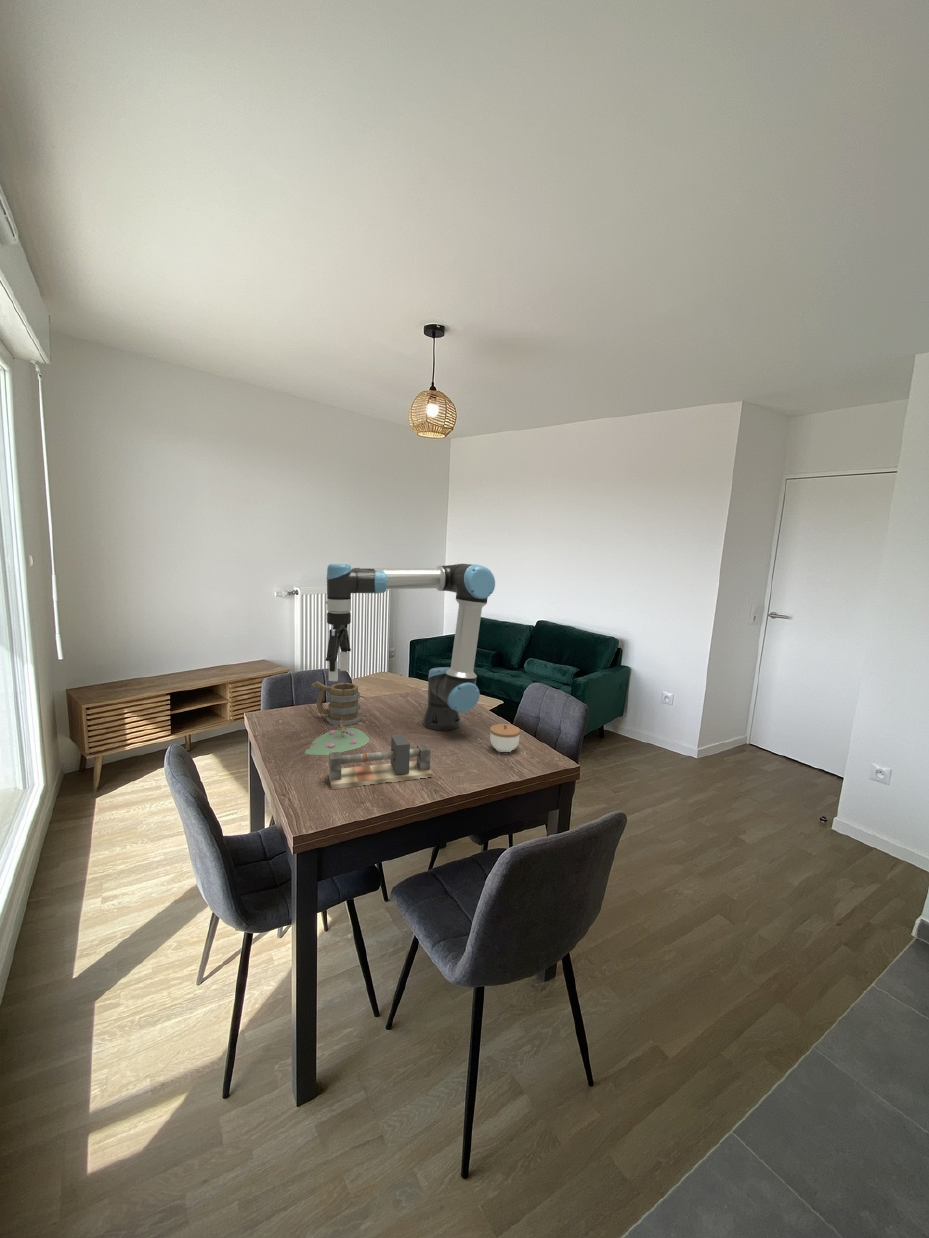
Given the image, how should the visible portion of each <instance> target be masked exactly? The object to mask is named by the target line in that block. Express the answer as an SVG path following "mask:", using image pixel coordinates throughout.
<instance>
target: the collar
mask: <svg viewBox="0 0 929 1238" xmlns="http://www.w3.org/2000/svg"><path fill="white" fill-rule="evenodd" d="M390 738H391V739H390V740H391V741H390V744H391V745H390V751H395V759H390V763H391V765H392V767H393V769H394V771H395V773H396V774H405V773H409V762H410V761H411V760H410V759H411V757H410V749H411V743H410V742H409V740H408V738H407V737H406V736H405V734H397V735H395V734H394V735H391V737H390Z"/></svg>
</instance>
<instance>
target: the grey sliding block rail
mask: <svg viewBox="0 0 929 1238" xmlns="http://www.w3.org/2000/svg"><path fill="white" fill-rule="evenodd" d="M431 752H432V751H431V748H430V747H429V745H428V744H427V743H421V744H416V748H410V758H414V757H415V758H416V760H409V773H405V774H396V773H395V771H394V769H393V767H392V765H391V762H389V763H382V764H371V765H369V764H368V765H360V766H359V765H358V766H353V767H344V768H343V767H342V765H345V764H354V763H357V764H358V763H367V762H376V761H385V760H391V759H395V751H391V750H388V751H387V750H386V751H378V752H377V751H376V752H367V753H366V752H363V753H355V754H343V755H341V752H333V753H329V755H328V768H329V769H328V780H329V784H330V785H329V786H330V790H339V789H346V788H347V789H349V788H356V787H357V786H358V787H364V786H363V785H366V786H371V785H370V784H375V785H379V784H378V783H383V784H386V783H385V782H392V783H397V782H398V781H401V782H405V781H404V780H409V781H414V780H413V779H418V780H421V779H420V778H426V779H428V778H427V777H432V778H433V772H432V771H431ZM398 783H399V782H398Z"/></svg>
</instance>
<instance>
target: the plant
mask: <svg viewBox="0 0 929 1238" xmlns="http://www.w3.org/2000/svg"><path fill="white" fill-rule="evenodd" d="M341 718H342V716H341ZM342 719H344V718H342ZM342 721H343V722H345V721H344V720H341V721H340V724H341V725H340V726H338V725H332V727H333V728H336V729H331V730H329V731H327V733H326V732H324V733H325V734H323V733H322V734H323V735H322V736H321V737H319V738H318V739H316V738H315V739H316V740H315V739H314V740H315V741H314V740H313V741H312V742H311V743H317V744H315V745H313V746H311V747H310V749H307V748H306V750H305V751H304V754H305V755H308V756H309V755H310V756H314V755H315V756H329V753H333V752H340V753H343V752H347V751H351V750H354V749H359V748H362V747H361V746H363V745H365V744H367V743H368V744H369V743H370V741H371V740H370V738H369V736H368V734H367V733H365V732H364V731H362V730H360V729H358V728H355V727H346V726H345V725H343V726H342V723H341V722H342ZM368 744H367V745H368ZM365 746H366V745H365ZM363 747H364V746H363Z"/></svg>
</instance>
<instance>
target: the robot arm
mask: <svg viewBox="0 0 929 1238" xmlns="http://www.w3.org/2000/svg"><path fill="white" fill-rule="evenodd" d="M326 570H327V571H326V600H325V604H326V610H327V611H328V612H327V613H326V623H327V625H332V628H331V629H329V630H328V632H329V635H328V636H329V637H328V644H327V645H328V646H327V652H326V658H325V661H326V662H328V682H338V680H339V676H338V674H339V672H338V671H343V672H348V671H349V652H352V649H351V645H350V644H351V643H350V637H349V630H348V626H349V625H350V624H351V622H352V620H351V619H352V615H351V614H352V613H351V610H352V594H383V593H385V592H386V591H387V590H405V589H406V590H407V589H408V590H410V589H411V590H413V589H416V590H417V589H421V590H422V589H423V590H424V589H436V590H437V591H439V592H441V591H442V592H444V591H445V592H451V593H455V601H456V602H457V603H458V609H457V610H458V611H457V618H456V624H455V631H454V632H455V633H454V640H453V645H452V646H453V647H452V653H451V663H450V667H449V666H446V667H434V668H431V669H429V671H428V677H427V679H428V681H427V682H428V683H427V685H428V687H427V705H426V707H425V711H424V714H423V717H422V725H423V727H425V728H426V729H430V730H433V731H434V730H435V731H452V730H456V729H458V728H459V727H460V726H461V716H460V713H466V712H469V711H471V710H472V709H473V708H474V707H475V708H476V705H477V704H478V702H479V701H480V694H481V693H480V690H479V689H480V688H478V686H477V685H476V684H477V677H478V675H477V674H476V673H475V671H474V670H475V664H476V663H475V661H476V654H477V647H478V641H479V632H480V626H481V625H480V624H481V618H482V611H483V608H484V607H485V606H486V605H487V604H488V598H490V596H491V595H492V594H493V593H494V591H495V588H496V579H495V578H496V577H495V576H494V573H492V571H491V570H490V569H489V568H488V567H486V566H483V565H480V564H471V563H456V564H449V565H438V566H436V567H434V568H431V567H430V568H428V567H427V568H425V567H423V568H422V567H421V568H418V567H415V568H414V567H413V568H410V567H409V568H408V567H407V568H405V567H404V568H403V567H402V568H399V567H398V568H397V567H396V568H394V567H393V568H388V567H387V568H382V567H381V568H377V567H376V568H360V567H353V568H352V566H351V565H350V564H347V563H346V564H345V563H330V564H328V565H327V569H326ZM339 650H340V651H339ZM338 657H339V661H338ZM338 663H339V665H338ZM338 669H339V670H338Z"/></svg>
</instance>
